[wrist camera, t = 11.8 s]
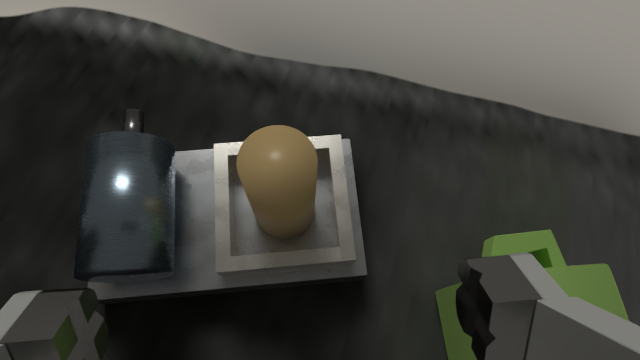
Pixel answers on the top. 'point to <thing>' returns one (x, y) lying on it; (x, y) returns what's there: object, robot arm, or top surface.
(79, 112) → the top surface
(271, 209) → the tan knob head
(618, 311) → the gearbox
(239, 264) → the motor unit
